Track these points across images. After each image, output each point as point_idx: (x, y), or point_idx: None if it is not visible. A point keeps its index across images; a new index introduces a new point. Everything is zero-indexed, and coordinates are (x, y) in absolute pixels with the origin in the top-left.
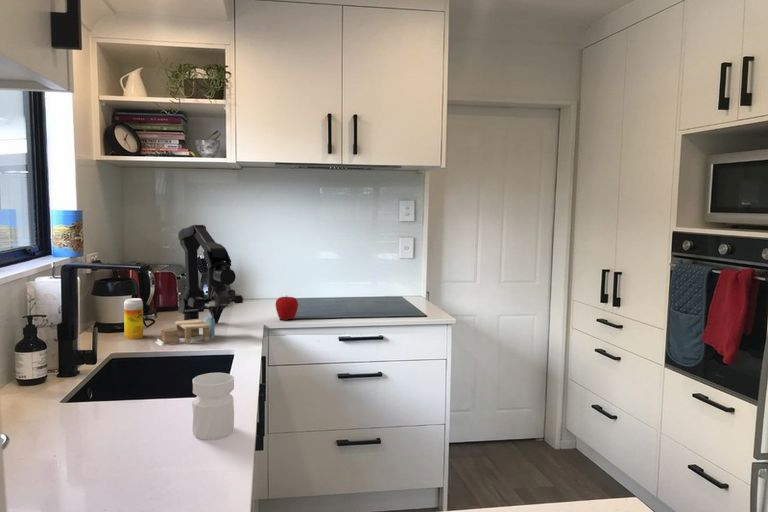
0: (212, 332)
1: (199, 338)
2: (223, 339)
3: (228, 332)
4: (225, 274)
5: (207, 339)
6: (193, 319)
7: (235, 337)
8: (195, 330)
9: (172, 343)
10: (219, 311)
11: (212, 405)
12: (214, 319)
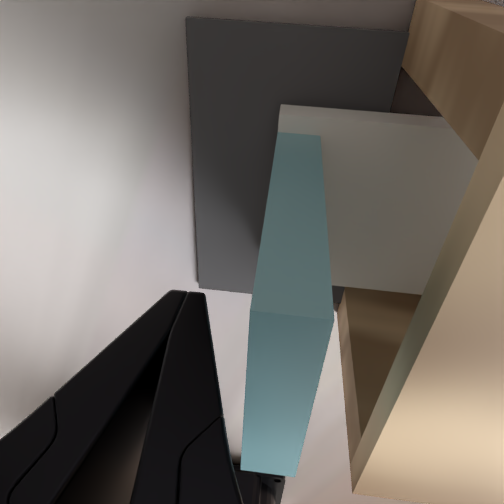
0: (305, 165)
1: (431, 204)
2: (161, 146)
3: (63, 317)
4: None
5: (467, 8)
6: (410, 497)
7: (28, 148)
8: (390, 356)
9: None
10: (35, 491)
11: None
12: (252, 299)
